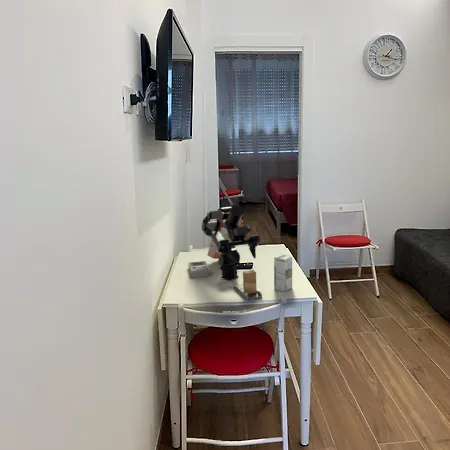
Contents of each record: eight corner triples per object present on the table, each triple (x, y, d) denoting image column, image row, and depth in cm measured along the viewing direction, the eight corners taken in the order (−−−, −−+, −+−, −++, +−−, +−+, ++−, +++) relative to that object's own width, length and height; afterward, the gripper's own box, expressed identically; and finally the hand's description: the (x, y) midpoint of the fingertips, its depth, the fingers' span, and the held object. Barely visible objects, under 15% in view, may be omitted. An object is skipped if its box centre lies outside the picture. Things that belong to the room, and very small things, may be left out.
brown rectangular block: (243, 292, 183) (242, 271, 181) (253, 290, 184) (253, 269, 182) (246, 294, 180) (245, 273, 178) (256, 292, 181) (255, 271, 179)
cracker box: (213, 259, 225) (223, 220, 221) (206, 255, 229) (215, 217, 226) (233, 259, 234) (242, 221, 231) (226, 255, 238) (234, 219, 235)
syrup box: (281, 285, 192) (280, 253, 189) (292, 288, 189) (292, 255, 186) (274, 289, 188) (273, 257, 185) (285, 292, 184) (285, 259, 181)
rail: (233, 288, 191) (233, 282, 191) (247, 286, 193) (247, 280, 193) (247, 301, 177) (247, 294, 176) (262, 298, 179) (262, 292, 178)
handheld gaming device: (191, 278, 208) (191, 270, 207) (188, 269, 222) (188, 261, 221) (210, 276, 210) (209, 269, 209) (205, 267, 224) (205, 260, 223)
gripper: (217, 221, 184) (229, 252, 176) (257, 216, 191) (270, 245, 182) (212, 237, 192) (223, 266, 184) (250, 231, 199) (262, 260, 191)
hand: (245, 259), depth 185 cm, fingers open, 9 cm apart
